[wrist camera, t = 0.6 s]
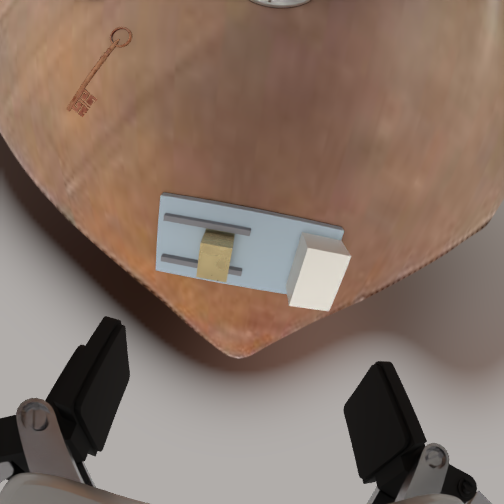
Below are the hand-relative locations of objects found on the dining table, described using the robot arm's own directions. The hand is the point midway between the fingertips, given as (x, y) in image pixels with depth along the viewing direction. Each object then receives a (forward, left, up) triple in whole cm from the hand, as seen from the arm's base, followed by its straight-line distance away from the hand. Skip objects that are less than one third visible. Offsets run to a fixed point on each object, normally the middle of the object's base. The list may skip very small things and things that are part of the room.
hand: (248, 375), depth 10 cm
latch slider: (+10, -3, -30) cm, 31 cm away
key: (-13, -25, -32) cm, 43 cm away
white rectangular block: (+10, +11, -30) cm, 33 cm away
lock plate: (+10, +1, -31) cm, 33 cm away
